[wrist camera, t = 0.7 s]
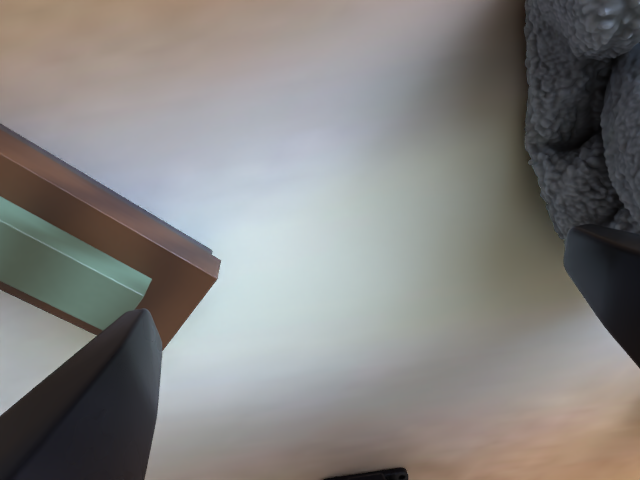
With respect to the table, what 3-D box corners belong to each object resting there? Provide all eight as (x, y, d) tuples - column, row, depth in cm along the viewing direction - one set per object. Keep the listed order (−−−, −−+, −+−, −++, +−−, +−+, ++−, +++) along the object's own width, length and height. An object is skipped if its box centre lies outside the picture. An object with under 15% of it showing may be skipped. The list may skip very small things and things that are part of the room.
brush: (223, 248, 24) (214, 296, 20) (166, 324, 26) (146, 385, 22) (-46, 85, 20) (-138, 99, 15) (-96, 190, 21) (-193, 230, 17)
